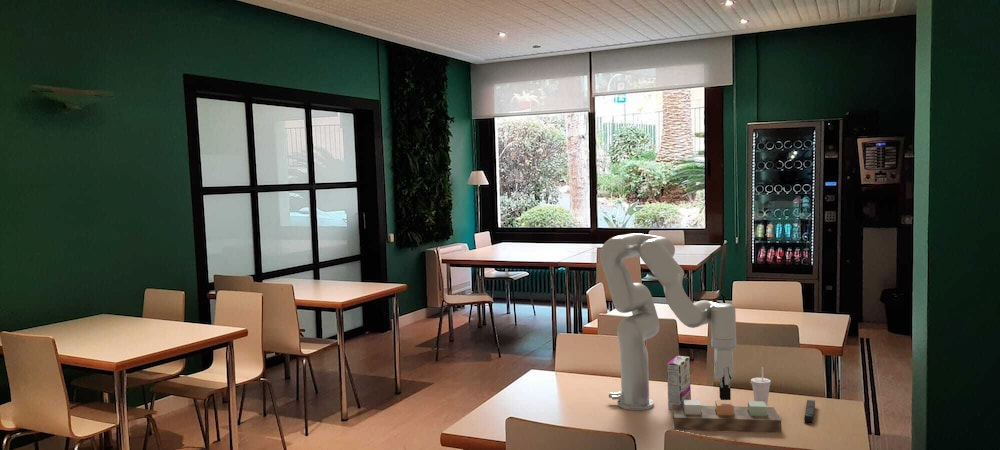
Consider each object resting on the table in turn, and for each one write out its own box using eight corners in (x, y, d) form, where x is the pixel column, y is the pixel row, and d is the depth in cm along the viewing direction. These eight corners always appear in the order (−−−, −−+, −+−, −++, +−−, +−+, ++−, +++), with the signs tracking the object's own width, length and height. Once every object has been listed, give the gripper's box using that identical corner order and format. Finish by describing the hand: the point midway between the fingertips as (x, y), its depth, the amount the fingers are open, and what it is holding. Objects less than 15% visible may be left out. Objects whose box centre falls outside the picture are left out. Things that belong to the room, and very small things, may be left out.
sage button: (750, 419, 220) (750, 406, 220) (747, 413, 225) (747, 401, 225) (767, 419, 219) (767, 406, 219) (764, 414, 224) (764, 401, 224)
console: (674, 429, 221) (674, 417, 221) (672, 416, 233) (672, 404, 233) (781, 433, 215) (781, 420, 215) (773, 419, 227) (773, 407, 227)
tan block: (717, 418, 222) (717, 405, 222) (715, 413, 227) (715, 400, 226) (733, 418, 221) (733, 405, 221) (731, 413, 226) (731, 400, 226)
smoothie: (772, 411, 234) (772, 370, 233) (752, 410, 236) (752, 370, 235) (769, 405, 241) (768, 365, 240) (749, 404, 242) (749, 364, 241)
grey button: (685, 417, 224) (684, 404, 223) (683, 412, 229) (683, 399, 228) (701, 418, 223) (700, 405, 222) (699, 412, 228) (699, 400, 227)
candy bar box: (677, 400, 249) (676, 355, 248) (691, 402, 247) (690, 356, 245) (667, 409, 240) (666, 362, 239) (681, 412, 237) (680, 364, 236)
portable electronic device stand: (813, 425, 221) (813, 416, 221) (804, 424, 222) (804, 415, 222) (815, 407, 237) (815, 399, 237) (807, 407, 238) (806, 398, 238)
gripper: (708, 337, 230) (710, 392, 231) (714, 348, 215) (715, 406, 217) (732, 337, 229) (734, 392, 230) (739, 348, 214) (741, 407, 215)
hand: (725, 399), depth 223 cm, fingers closed
